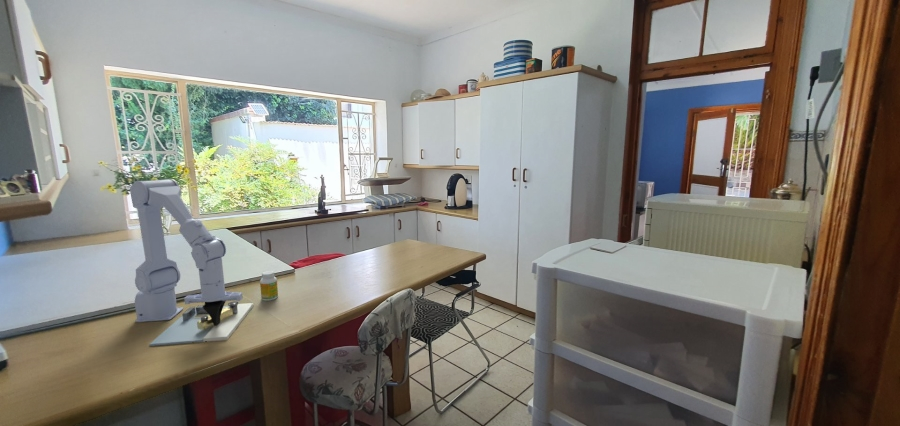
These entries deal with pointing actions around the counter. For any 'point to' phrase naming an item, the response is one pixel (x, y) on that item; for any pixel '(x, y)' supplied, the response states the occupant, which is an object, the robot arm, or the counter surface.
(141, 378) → the counter surface
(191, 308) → the keeper
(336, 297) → the counter surface
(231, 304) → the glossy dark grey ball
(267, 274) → the supplement bottle
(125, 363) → the counter surface
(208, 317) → the swing bar
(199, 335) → the door panel
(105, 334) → the counter surface
